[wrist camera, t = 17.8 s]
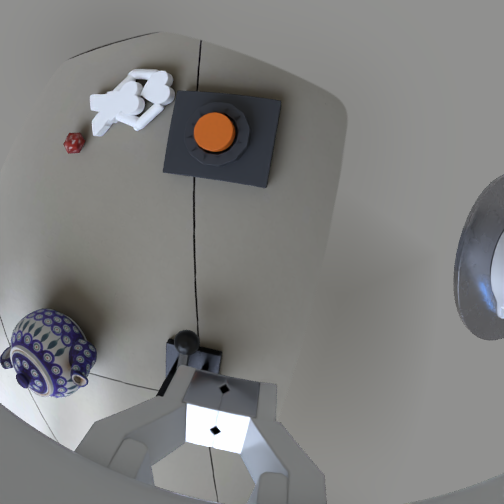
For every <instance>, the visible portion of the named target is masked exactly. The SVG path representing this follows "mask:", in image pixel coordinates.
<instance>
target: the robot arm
mask: <svg viewBox="0 0 504 504" xmlns="http://www.w3.org/2000/svg"><path fill="white" fill-rule="evenodd" d="M491 287H492V291H493V294H494V296H495V299H496V301H497V315H498V317H500V318H502V319H504V231H503V233H502V235H501V237H500V239H499V241H498V243H497V246H496V249H495V252H494V256H493V260H492V266H491ZM276 404H277V385H276V384H272V383H265V382H256V381H251V380H245V379H240V378H235V377H230V376H225V375H221V374H217V373H213V372H209V371H205V370H201V369H198V368H197V369H196V368H193V367H189V366H186V365H182V364H181V365H180V366H179V367H178V369H177V371H176V373H175V375H174V377H173V379H172V380H171V382H170V384H169V386H168V388H167V390H166V392H165V394H164V396H163V397H161V396H156V397H154V398H152V399H150V400H147V401H145V402H143V403H140V404H138V405H136V406H133V407H131V408H129V409H126V410H124V411H121V412H119V413H117V414H114V415H112V416H109V417H106V418H104V419H101V420H99V421H96V422H95V423H94V424H93V425H92V427H91V428H90V430H89V431H88V432H87V434H86V435H85V437H84V438H83V440H82V441H81V443H80V444H79V445H78V447H77V448H76V450H75V451H72V450H70V449H68V448H67V447H65V446H63V445H61V444H60V443H58V442H56V441H54V440H53V439H51V438H49V437H48V436H46V435H45V434H43V433H41V432H40V431H38V430H37V429H35V428H34V427H32V426H31V425H29V424H28V423H26V422H25V421H23V420H22V419H21V418H19V417H18V416H16V415H15V414H14V413H12V412H11V411H10V410H8V409H7V408H6V407H5V406H3V405H2V404H1V403H0V504H223V503H218V502H213V501H208V500H204V499H199V498H195V497H191V496H187V495H183V494H179V493H176V492H172V491H169V490H166V489H162V488H159V487H156V486H155V485H154V479H153V474H152V468H151V466H152V465H154V464H155V463H157V462H158V461H160V460H161V459H163V458H164V457H166V456H167V455H168V454H170V453H171V452H173V451H174V450H176V449H177V448H178V447H180V446H181V445H183V444H184V443H185V441H186V442H190V443H194V444H199V445H203V446H208V447H213V448H217V449H222V450H226V451H231V452H235V453H240V455H241V457H242V459H243V461H244V463H245V465H246V467H247V469H248V471H249V473H250V475H251V477H252V479H253V480H254V482H255V484H256V485H255V488H254V490H253V492H252V494H251V496H250V498H249V500H248V502H247V504H327V501H326V487H325V476H324V474H323V473H322V472H321V471H320V469H319V468H318V467H317V466H316V465H315V464H314V462H313V461H312V460H311V459H310V458H309V456H308V455H307V454H306V453H305V452H304V451H303V449H302V448H301V447H300V446H299V444H298V443H297V442H296V441H295V440H294V438H293V437H292V436H291V435H290V434H289V432H288V431H287V430H286V428H285V427H284V426H283V425H282V423H281V422H276ZM406 504H504V473H502V474H500V475H498V476H495V477H493V478H491V479H488V480H486V481H483V482H481V483H478V484H475V485H473V486H470V487H467V488H464V489H461V490H458V491H454V492H452V493H448V494H445V495H441V496H437V497H433V498H429V499H425V500H421V501H416V502H411V503H406Z"/></svg>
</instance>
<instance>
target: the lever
mask: <svg viewBox="0 0 504 504" xmlns="http://www.w3.org/2000/svg"><path fill="white" fill-rule="evenodd" d="M174 346H175V348H176V350H177V351H178V352H179V353H180V354H179V359H178V364H177V369H178V367H179V366H180V365H181V364H182V365H186V366H188V361H189V356H190V355H192V354H194V353H196V352H197V350H198V349H199V346H200V340H199V337H198V336H197V334H196V333H194V332H193V331H190V330H183V331H180V332H179V333H178V334H177V335H176V336H175V339H174ZM177 369H176V371H177Z"/></svg>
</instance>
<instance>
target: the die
mask: <svg viewBox="0 0 504 504" xmlns="http://www.w3.org/2000/svg"><path fill="white" fill-rule="evenodd" d="M84 143H85V140H84V139H83V137H82V135H81V134H80V133H69V134H68V136H67V138H66V140H65V142H64V146H65V148H66V150H67V152H68V153H80V151H81V149H82V147H83V145H84Z"/></svg>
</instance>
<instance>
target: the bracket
mask: <svg viewBox="0 0 504 504" xmlns="http://www.w3.org/2000/svg"><path fill="white" fill-rule="evenodd" d="M179 354H180V353H179V352H178V351H177V350H176V348H175V346H174V340H172V339H169V340H168V341H167V343H166V379H165V381H164V382H163V384H162V386H161V388H160V390H159V392H158V393H157V395H156V396H161V397H163V396H164V394H165V392H166V390H167V388H168V386H169V384H170V382H171V380H172V379H173V377H174V375H175V373H176V369H177V364H178V359H179ZM221 358H222V351H217V350H213V349H208V348H204V347H200V346H199V349H198V350H197V352H196V353H194V354H192V355H190V356H189V361H188V366H189V367H193V368H196V369H197V368H198V369H201V370H205V371H209V372H213V373H217V374H219V372H220V365H221Z"/></svg>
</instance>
